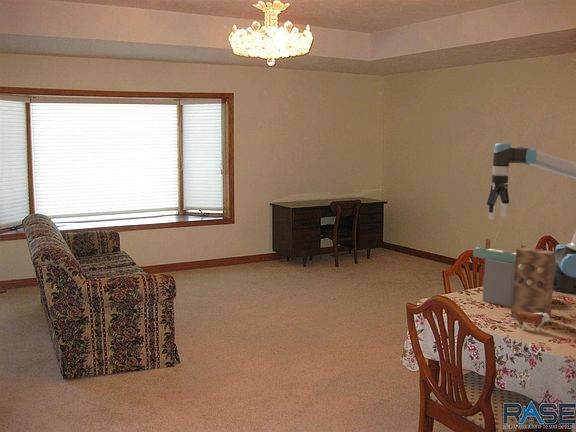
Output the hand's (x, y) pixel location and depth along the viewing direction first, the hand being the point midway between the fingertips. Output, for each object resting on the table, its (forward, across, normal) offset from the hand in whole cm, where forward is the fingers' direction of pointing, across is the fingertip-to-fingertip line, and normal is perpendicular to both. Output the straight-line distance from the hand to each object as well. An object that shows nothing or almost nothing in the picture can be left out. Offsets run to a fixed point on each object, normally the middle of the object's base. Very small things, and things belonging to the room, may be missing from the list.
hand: (497, 217), depth 306 cm
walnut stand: (+37, +34, +33) cm, 60 cm away
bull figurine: (+37, +48, +39) cm, 72 cm away
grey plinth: (+37, +19, +12) cm, 43 cm away
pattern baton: (+17, +19, +11) cm, 27 cm away
